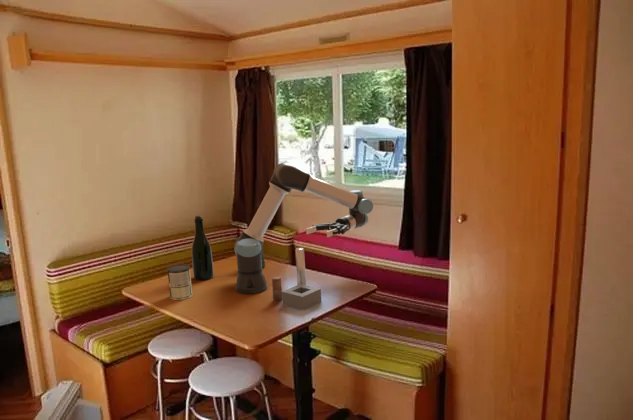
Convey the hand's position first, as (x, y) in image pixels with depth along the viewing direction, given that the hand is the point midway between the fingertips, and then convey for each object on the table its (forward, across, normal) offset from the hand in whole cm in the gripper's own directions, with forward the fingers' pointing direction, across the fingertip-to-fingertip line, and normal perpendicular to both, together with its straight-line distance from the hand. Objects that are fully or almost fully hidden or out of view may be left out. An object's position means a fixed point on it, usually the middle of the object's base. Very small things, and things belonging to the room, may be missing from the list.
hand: (316, 232), depth 239 cm
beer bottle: (+29, +57, -24) cm, 68 cm away
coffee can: (+52, +41, -24) cm, 70 cm away
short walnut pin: (+28, 0, -25) cm, 38 cm away
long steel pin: (+12, 0, -25) cm, 28 cm away
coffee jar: (0, +48, -25) cm, 54 cm away
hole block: (+25, -12, -25) cm, 37 cm away
